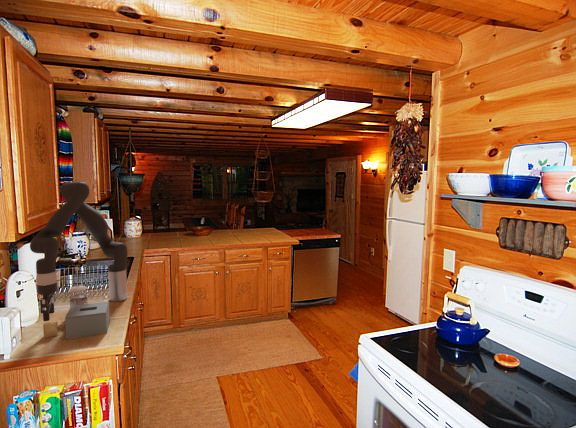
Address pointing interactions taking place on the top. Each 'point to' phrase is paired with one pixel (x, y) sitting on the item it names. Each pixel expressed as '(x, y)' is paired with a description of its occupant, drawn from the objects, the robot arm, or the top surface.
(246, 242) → the top surface
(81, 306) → the box
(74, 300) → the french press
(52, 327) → the wooden block
